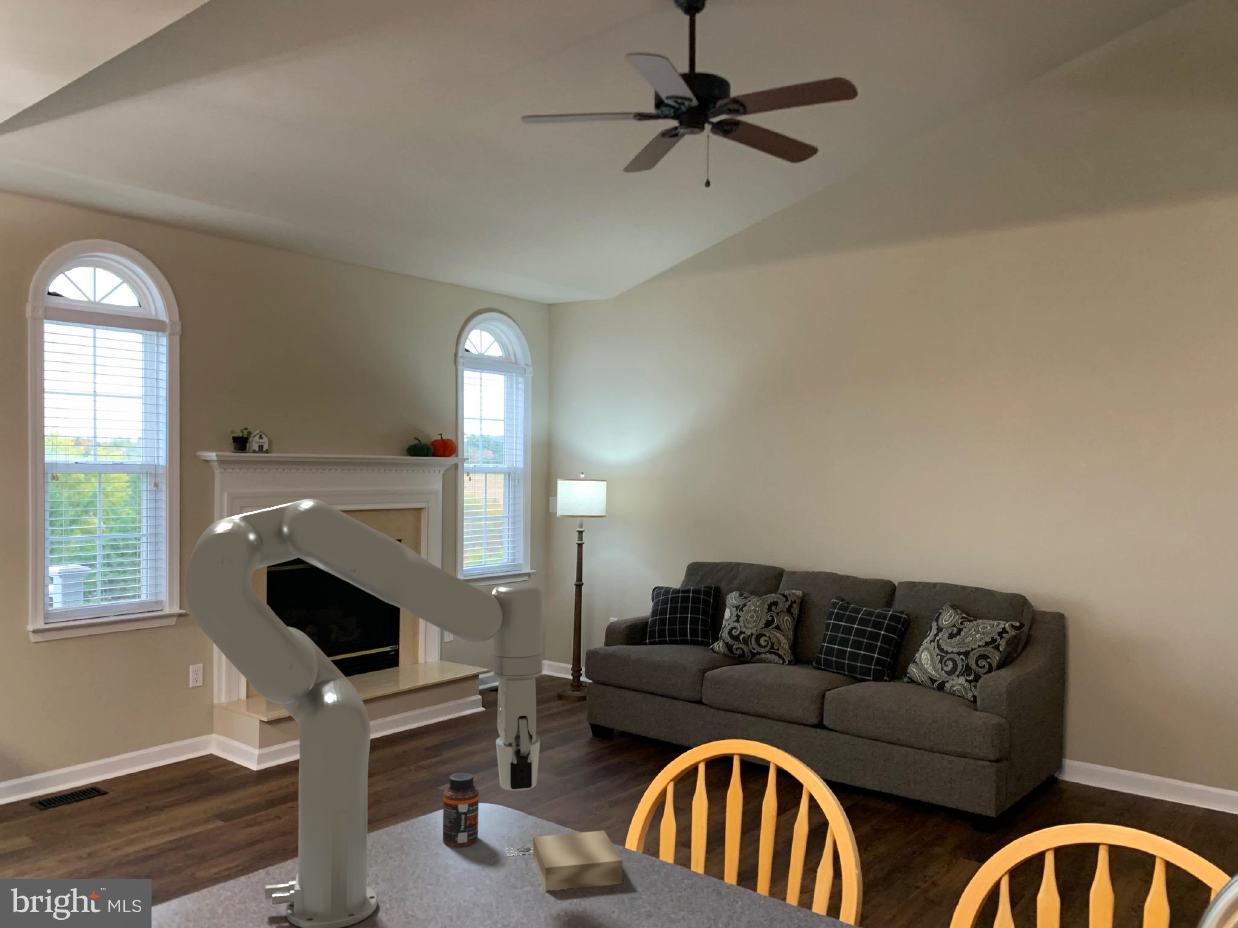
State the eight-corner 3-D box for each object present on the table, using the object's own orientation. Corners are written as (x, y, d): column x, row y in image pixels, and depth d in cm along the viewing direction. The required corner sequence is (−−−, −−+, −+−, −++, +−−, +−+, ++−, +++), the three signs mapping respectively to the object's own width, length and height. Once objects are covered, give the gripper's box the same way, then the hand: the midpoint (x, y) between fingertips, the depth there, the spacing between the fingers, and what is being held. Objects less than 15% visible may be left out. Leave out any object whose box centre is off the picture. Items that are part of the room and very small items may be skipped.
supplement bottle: (471, 850, 157) (472, 783, 157) (437, 848, 158) (438, 780, 158) (482, 836, 163) (483, 771, 163) (449, 834, 164) (450, 769, 164)
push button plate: (507, 857, 155) (507, 855, 155) (504, 847, 159) (504, 845, 159) (543, 854, 156) (543, 852, 156) (539, 844, 160) (539, 842, 160)
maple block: (545, 893, 143) (545, 867, 143) (532, 860, 155) (533, 836, 155) (621, 885, 146) (622, 860, 146) (603, 854, 158) (604, 830, 158)
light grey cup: (533, 793, 142) (532, 747, 142) (489, 790, 144) (489, 744, 144) (545, 778, 149) (545, 733, 149) (504, 775, 150) (504, 731, 150)
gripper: (487, 654, 153) (487, 765, 154) (500, 678, 137) (501, 803, 137) (533, 651, 155) (533, 761, 155) (551, 675, 139) (551, 798, 139)
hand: (518, 779), depth 146 cm, fingers closed on light grey cup, 5 cm apart
